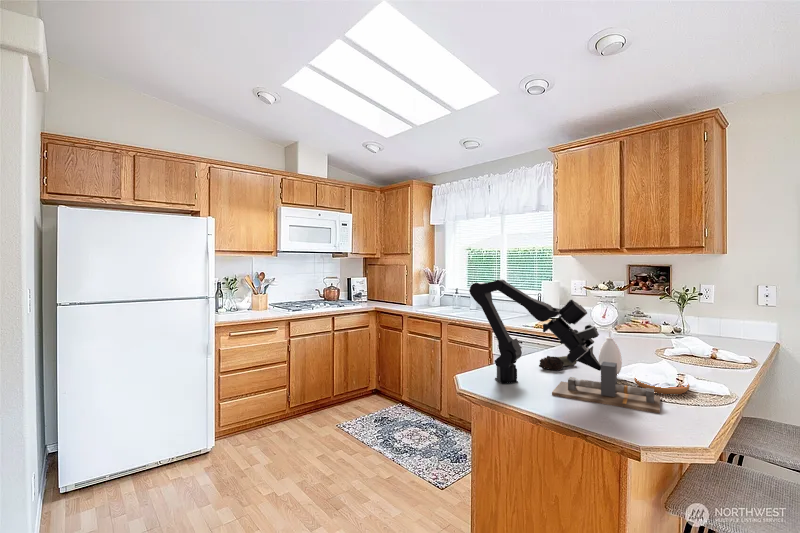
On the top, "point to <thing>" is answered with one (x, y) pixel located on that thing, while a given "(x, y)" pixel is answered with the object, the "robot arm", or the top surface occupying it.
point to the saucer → (664, 390)
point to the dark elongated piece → (555, 362)
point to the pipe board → (623, 398)
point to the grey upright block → (608, 378)
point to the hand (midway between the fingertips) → (601, 369)
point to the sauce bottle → (610, 353)
